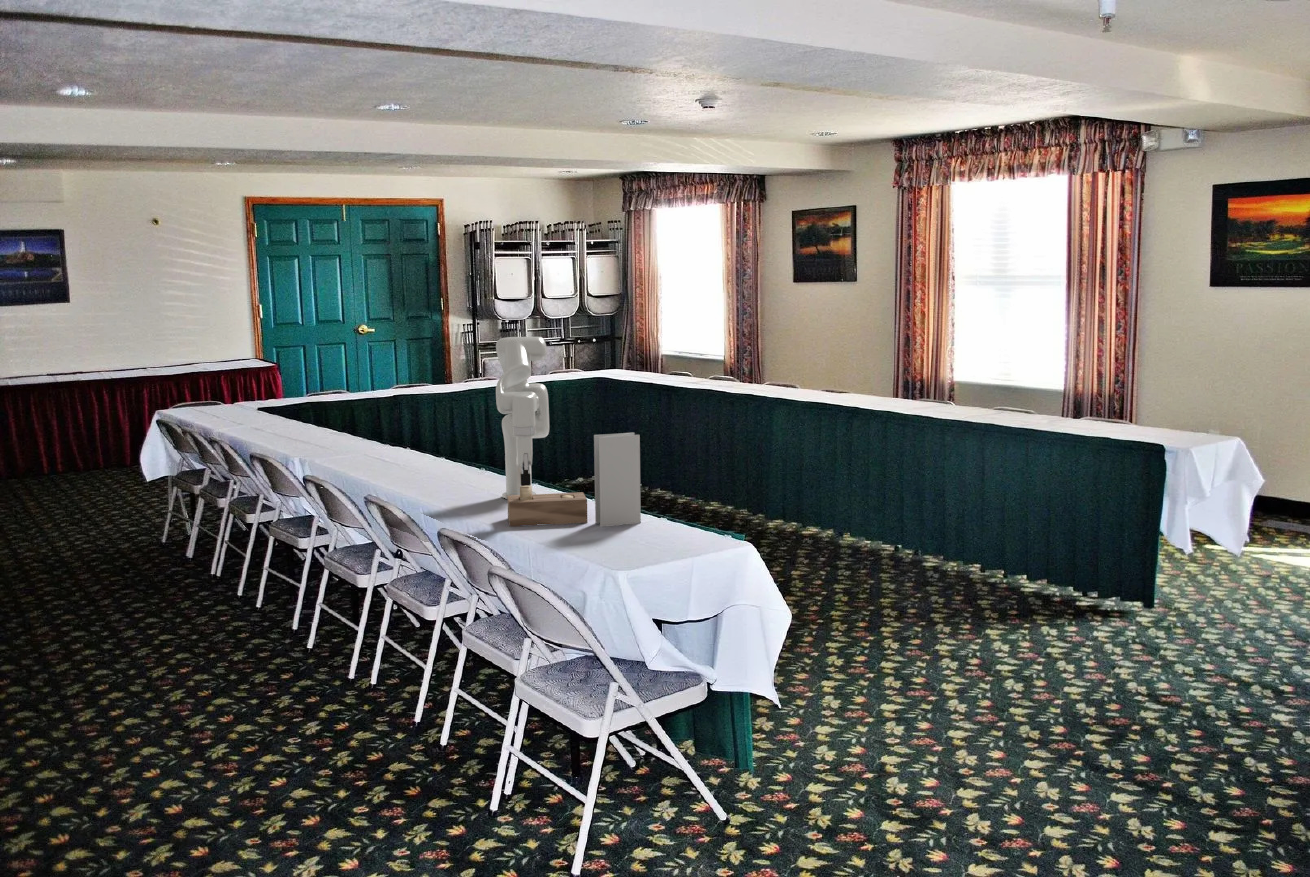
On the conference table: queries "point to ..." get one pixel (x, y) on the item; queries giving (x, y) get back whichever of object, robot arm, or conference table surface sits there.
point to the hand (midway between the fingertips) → (525, 485)
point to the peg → (526, 493)
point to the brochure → (617, 479)
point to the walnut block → (547, 509)
